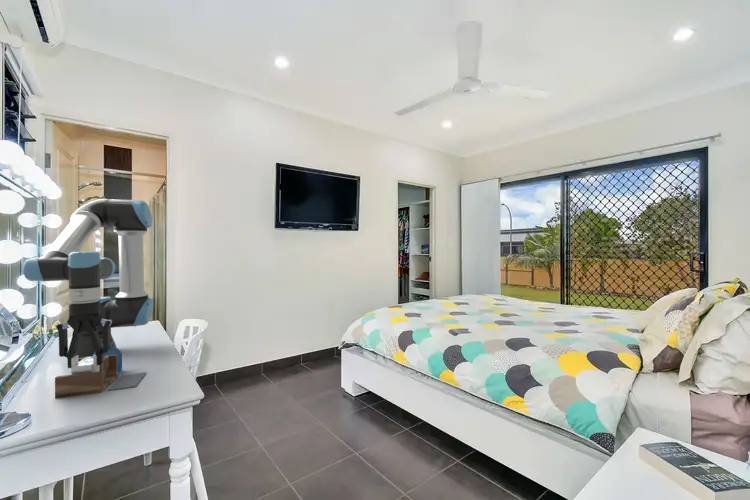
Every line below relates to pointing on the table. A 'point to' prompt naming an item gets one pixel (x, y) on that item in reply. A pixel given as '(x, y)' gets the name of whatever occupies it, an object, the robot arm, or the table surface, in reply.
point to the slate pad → (127, 381)
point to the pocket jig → (87, 379)
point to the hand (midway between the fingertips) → (85, 376)
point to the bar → (83, 366)
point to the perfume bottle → (112, 352)
